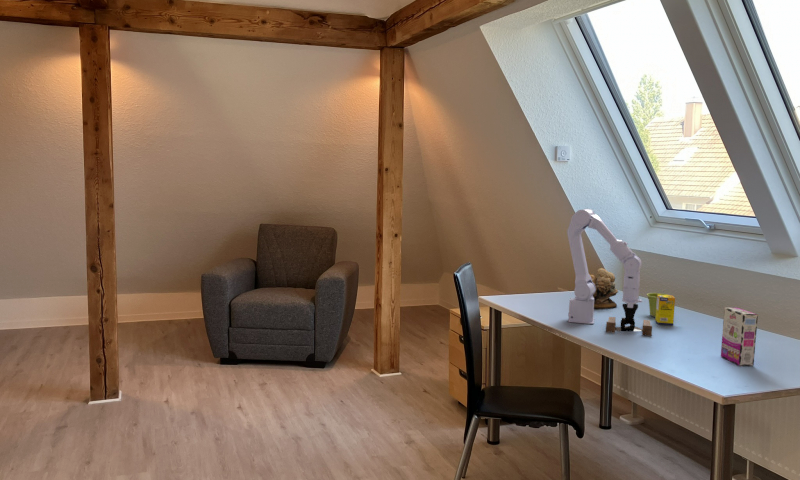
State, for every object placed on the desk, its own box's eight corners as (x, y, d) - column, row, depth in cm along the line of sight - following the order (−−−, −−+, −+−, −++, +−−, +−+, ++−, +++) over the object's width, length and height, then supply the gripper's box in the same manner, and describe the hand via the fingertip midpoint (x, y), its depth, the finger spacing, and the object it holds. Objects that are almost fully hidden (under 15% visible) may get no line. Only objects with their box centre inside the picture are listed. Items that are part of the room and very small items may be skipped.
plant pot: (666, 319, 277) (667, 298, 276) (642, 316, 283) (643, 295, 282) (672, 315, 285) (674, 295, 284) (649, 312, 290) (651, 292, 289)
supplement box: (673, 325, 266) (675, 297, 265) (657, 324, 268) (659, 296, 266) (670, 322, 272) (672, 295, 271) (654, 321, 273) (656, 294, 272)
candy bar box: (754, 366, 213) (759, 314, 211) (739, 366, 213) (743, 314, 211) (734, 356, 224) (738, 306, 222) (719, 356, 224) (723, 306, 222)
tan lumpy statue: (608, 303, 309) (611, 265, 307) (624, 308, 298) (627, 269, 296) (573, 304, 304) (575, 266, 302) (588, 310, 293) (590, 270, 291)
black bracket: (637, 328, 263) (638, 316, 263) (647, 332, 256) (648, 320, 256) (607, 328, 261) (608, 316, 261) (616, 333, 254) (617, 320, 254)
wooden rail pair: (606, 331, 254) (606, 322, 254) (607, 323, 267) (608, 314, 267) (651, 336, 249) (652, 326, 249) (650, 327, 262) (651, 318, 262)
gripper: (642, 291, 252) (640, 328, 254) (642, 285, 266) (640, 320, 267) (622, 290, 254) (620, 326, 256) (623, 284, 268) (621, 318, 270)
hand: (629, 323), depth 262 cm, fingers closed
